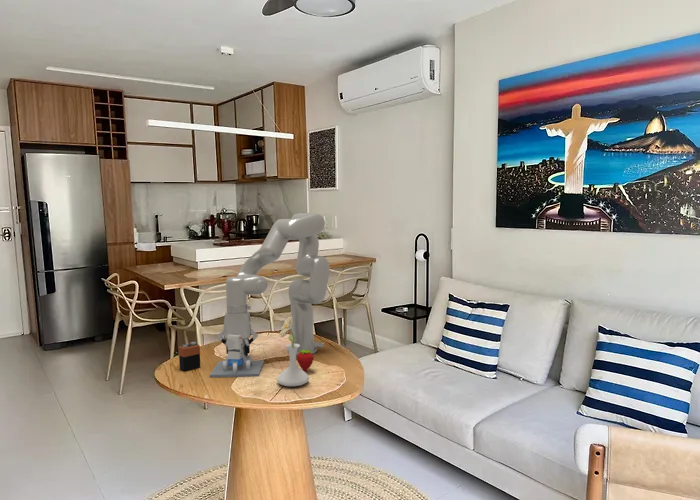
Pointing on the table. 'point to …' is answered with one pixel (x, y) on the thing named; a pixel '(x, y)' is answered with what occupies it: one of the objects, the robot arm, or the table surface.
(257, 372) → the pin tray
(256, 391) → the table surface
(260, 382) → the table surface
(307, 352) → the strawberry
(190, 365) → the battery
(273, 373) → the table surface
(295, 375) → the flower in vase
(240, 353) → the ink box
